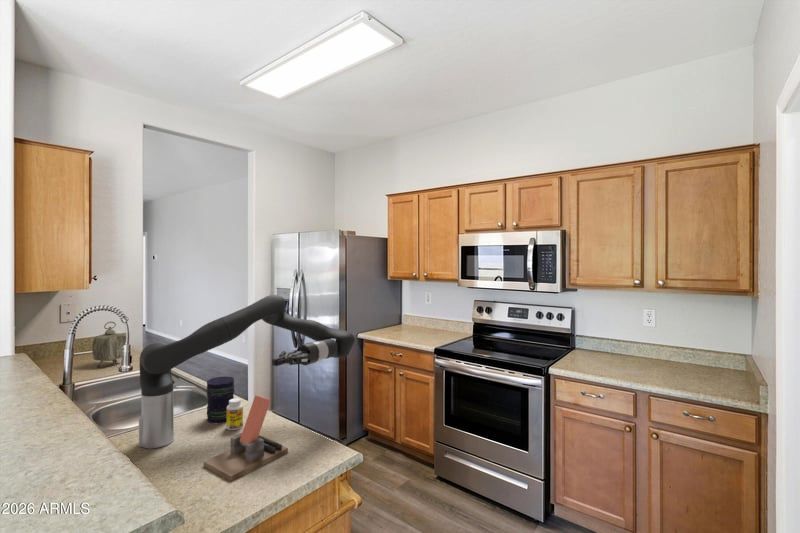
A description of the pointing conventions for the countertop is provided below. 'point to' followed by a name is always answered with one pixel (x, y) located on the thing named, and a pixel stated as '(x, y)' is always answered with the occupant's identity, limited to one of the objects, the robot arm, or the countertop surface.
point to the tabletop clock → (108, 346)
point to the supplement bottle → (234, 414)
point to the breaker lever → (254, 420)
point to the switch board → (244, 457)
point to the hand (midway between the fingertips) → (273, 362)
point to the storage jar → (219, 398)
